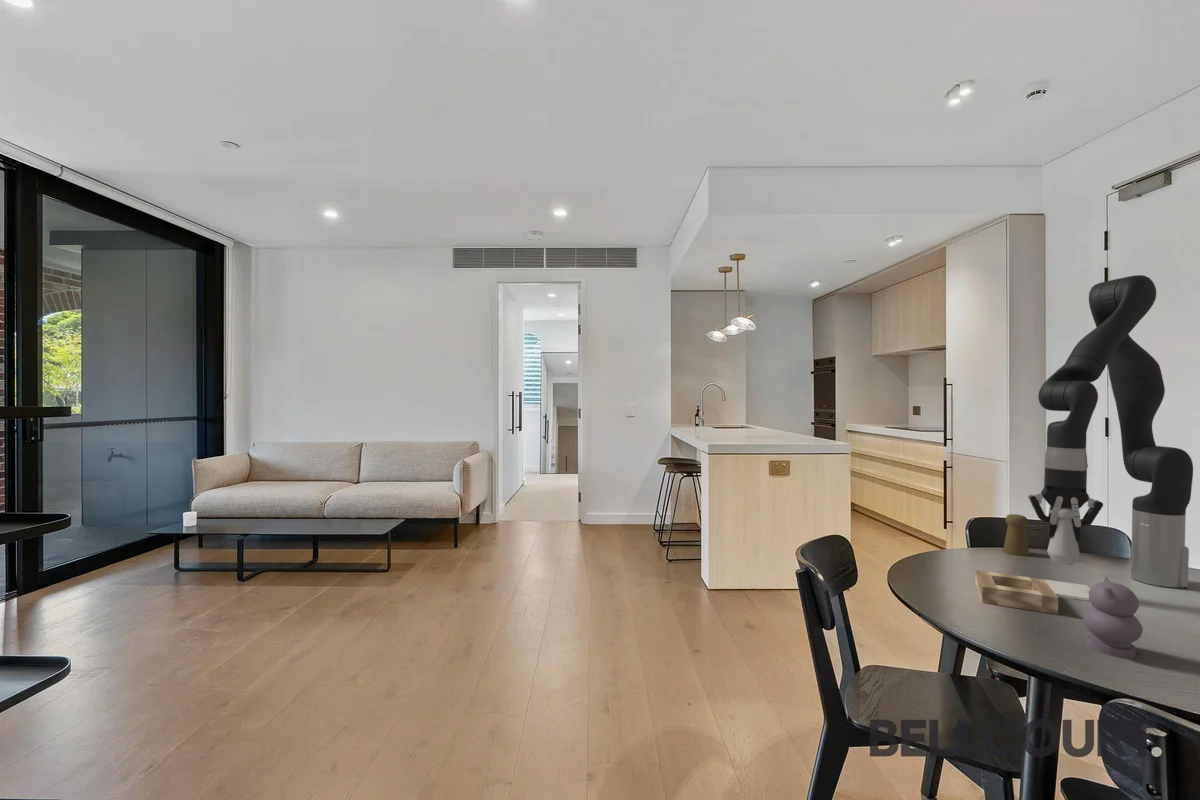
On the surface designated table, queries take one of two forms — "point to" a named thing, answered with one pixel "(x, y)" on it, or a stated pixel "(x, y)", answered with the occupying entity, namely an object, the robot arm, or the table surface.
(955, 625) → the table surface
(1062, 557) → the salt shaker
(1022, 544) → the cork
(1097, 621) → the stacked rounded figure
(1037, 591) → the socket block
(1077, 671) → the table surface
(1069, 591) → the grey tile
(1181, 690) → the table surface
